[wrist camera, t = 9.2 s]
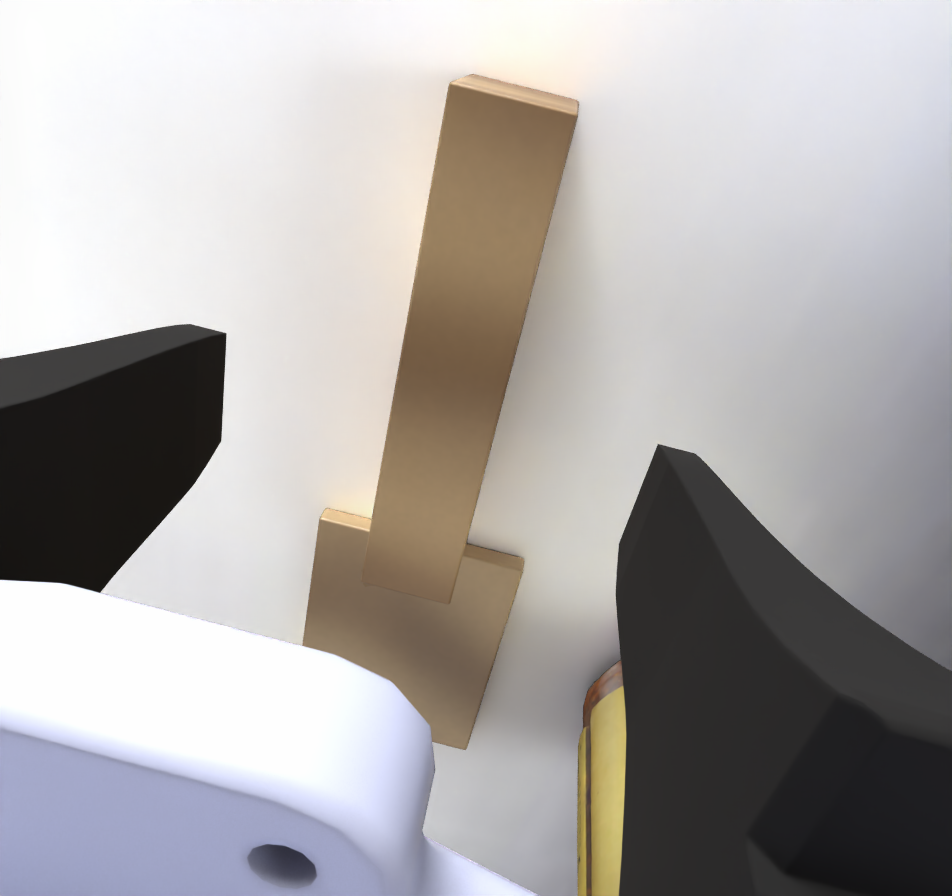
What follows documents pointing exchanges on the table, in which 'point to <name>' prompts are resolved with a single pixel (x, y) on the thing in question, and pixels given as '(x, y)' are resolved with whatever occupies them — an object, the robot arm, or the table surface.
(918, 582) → the table surface
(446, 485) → the tan upright bar
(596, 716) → the sauce bottle
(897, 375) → the table surface
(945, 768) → the robot arm
